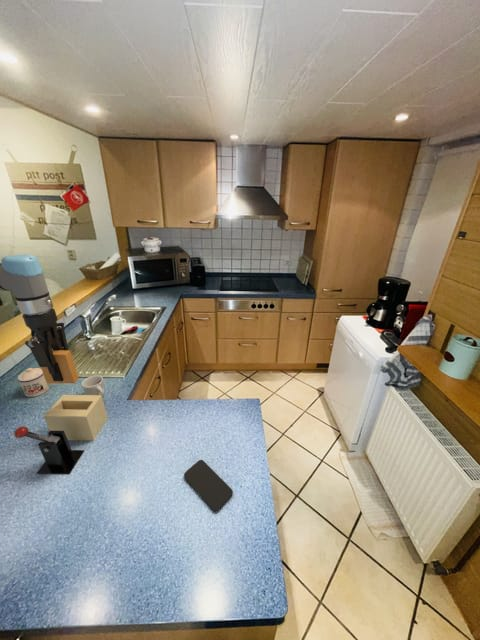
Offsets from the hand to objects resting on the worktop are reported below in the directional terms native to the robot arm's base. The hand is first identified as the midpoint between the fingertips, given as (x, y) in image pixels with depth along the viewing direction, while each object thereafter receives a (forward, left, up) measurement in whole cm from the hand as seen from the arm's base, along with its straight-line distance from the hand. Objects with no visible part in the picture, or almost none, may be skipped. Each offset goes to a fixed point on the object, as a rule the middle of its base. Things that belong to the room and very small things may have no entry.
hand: (61, 377), depth 81 cm
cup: (-2, +17, -24) cm, 29 cm away
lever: (-3, -13, -13) cm, 19 cm away
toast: (0, 0, -2) cm, 2 cm away
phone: (+49, -19, -24) cm, 58 cm away
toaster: (+1, 0, -24) cm, 24 cm away
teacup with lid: (-29, +21, -24) cm, 43 cm away
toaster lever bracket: (+2, -13, -24) cm, 27 cm away
